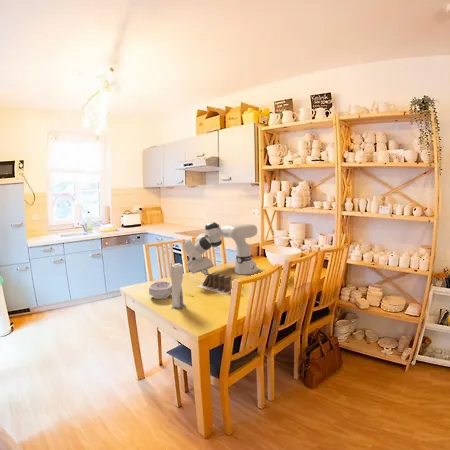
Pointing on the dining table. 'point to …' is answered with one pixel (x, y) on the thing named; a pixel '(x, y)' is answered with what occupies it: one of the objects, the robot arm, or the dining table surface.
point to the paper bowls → (160, 289)
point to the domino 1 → (206, 280)
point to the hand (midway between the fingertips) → (207, 274)
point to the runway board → (213, 289)
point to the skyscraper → (177, 286)
